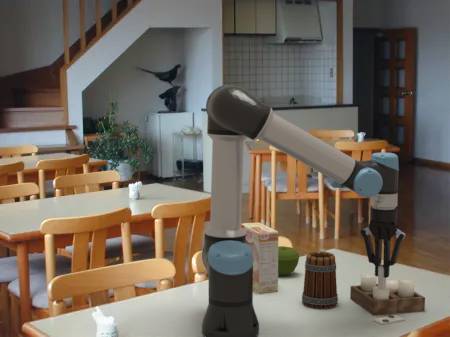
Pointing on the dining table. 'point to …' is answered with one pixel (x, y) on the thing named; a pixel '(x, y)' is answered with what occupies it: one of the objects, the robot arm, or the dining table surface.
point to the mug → (320, 280)
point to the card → (388, 319)
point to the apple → (287, 260)
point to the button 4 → (405, 288)
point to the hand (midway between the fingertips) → (381, 287)
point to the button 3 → (392, 284)
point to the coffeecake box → (263, 256)
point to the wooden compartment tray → (387, 302)
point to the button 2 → (380, 293)
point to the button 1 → (368, 282)
